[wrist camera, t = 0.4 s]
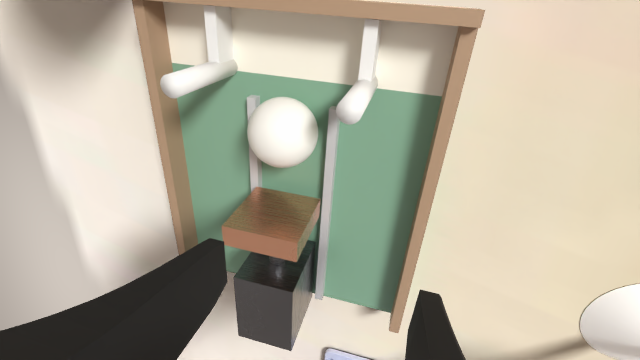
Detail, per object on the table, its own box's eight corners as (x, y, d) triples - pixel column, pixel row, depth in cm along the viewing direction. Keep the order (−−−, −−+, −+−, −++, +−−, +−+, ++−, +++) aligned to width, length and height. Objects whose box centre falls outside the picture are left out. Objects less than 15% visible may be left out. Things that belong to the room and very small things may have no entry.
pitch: (400, 301, 25) (394, 384, 19) (202, 252, 28) (150, 312, 23) (474, 8, 15) (500, 13, 10) (165, -15, 19) (62, -20, 13)
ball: (323, 156, 20) (304, 186, 16) (265, 146, 20) (236, 173, 17) (328, 93, 18) (307, 113, 15) (263, 85, 18) (232, 102, 15)
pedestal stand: (315, 296, 25) (293, 356, 20) (263, 283, 25) (232, 338, 21) (323, 193, 20) (297, 243, 16) (260, 181, 21) (221, 226, 17)
